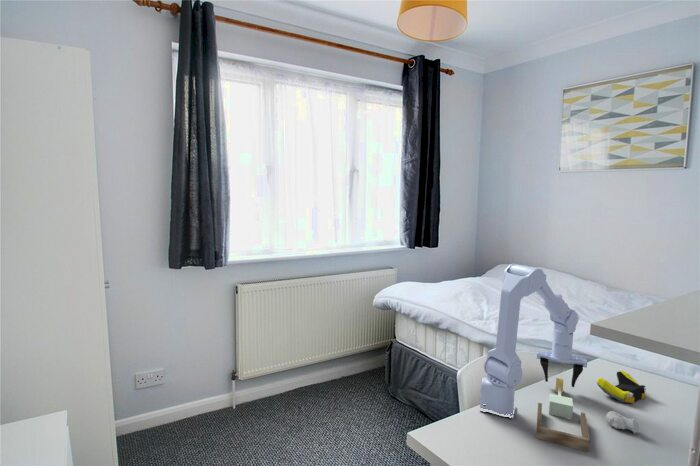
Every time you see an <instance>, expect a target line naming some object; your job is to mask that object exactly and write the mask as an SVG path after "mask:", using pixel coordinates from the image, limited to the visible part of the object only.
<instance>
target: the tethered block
mask: <svg viewBox="0 0 700 466" xmlns="http://www.w3.org/2000/svg"><path fill="white" fill-rule="evenodd" d="M555 379H556V380H555V393H557V394H553V393H549V397H548V398H549V401H548V414H549V415H551V414H553V416H556V415H557V416H556V417H560V416H562V418H564V417H565V419H568V418H569V420H573V412H574V403H573V398H572V397H568V396H563V395H562V394H563V393H564V392H563V390H564V379H563V378H559V377H556V378H555Z"/></svg>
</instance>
